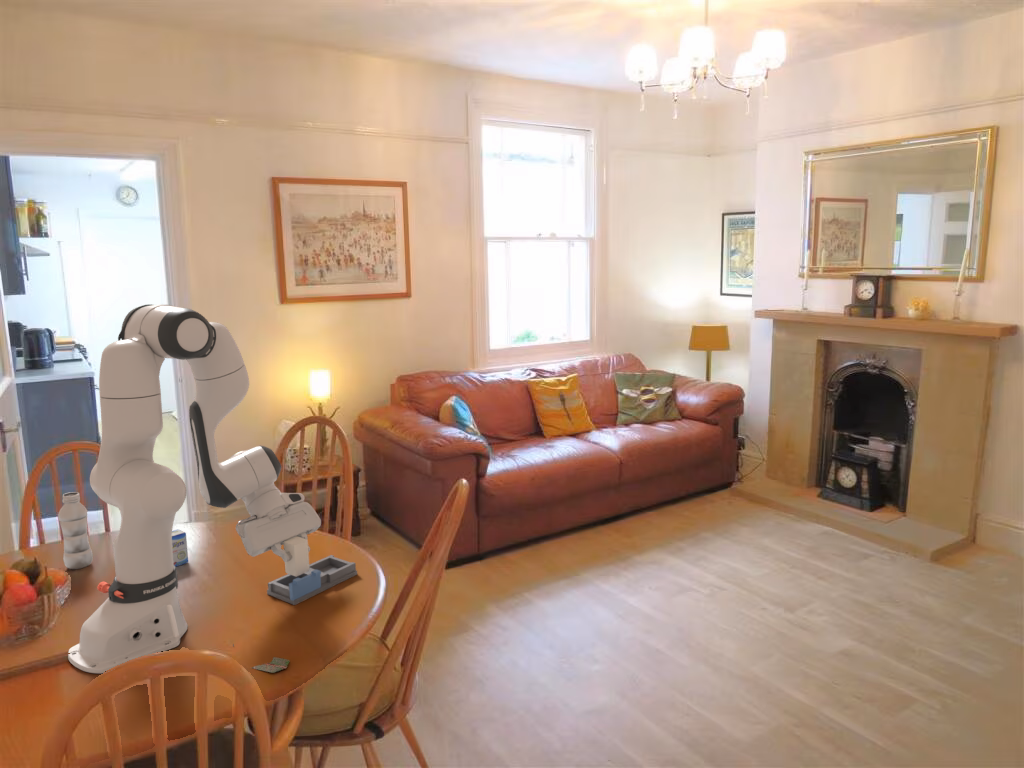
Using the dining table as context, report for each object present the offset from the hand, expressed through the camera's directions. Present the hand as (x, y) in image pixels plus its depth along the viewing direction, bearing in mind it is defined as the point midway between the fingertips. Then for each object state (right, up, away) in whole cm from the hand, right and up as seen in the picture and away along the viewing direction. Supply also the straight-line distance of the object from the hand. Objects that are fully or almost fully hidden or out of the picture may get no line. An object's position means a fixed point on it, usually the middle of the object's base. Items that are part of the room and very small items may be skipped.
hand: (298, 556), depth 172 cm
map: (-2, -15, -27) cm, 31 cm away
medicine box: (-39, -7, +16) cm, 43 cm away
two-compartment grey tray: (+2, -8, +6) cm, 10 cm away
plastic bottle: (-62, -7, +16) cm, 65 cm away
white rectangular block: (-1, -4, +1) cm, 4 cm away
